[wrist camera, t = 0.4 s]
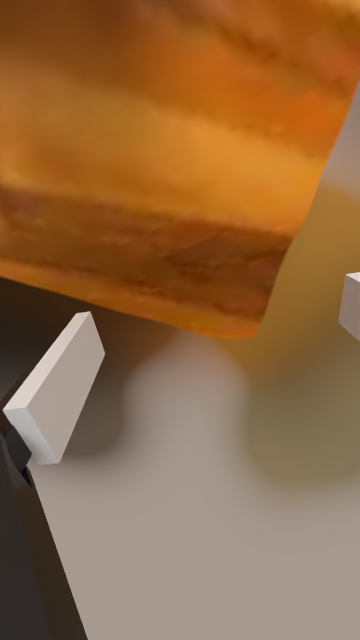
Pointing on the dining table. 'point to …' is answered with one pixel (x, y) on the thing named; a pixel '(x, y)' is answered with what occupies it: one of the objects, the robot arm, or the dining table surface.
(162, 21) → the dining table surface
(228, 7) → the dining table surface
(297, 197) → the dining table surface
